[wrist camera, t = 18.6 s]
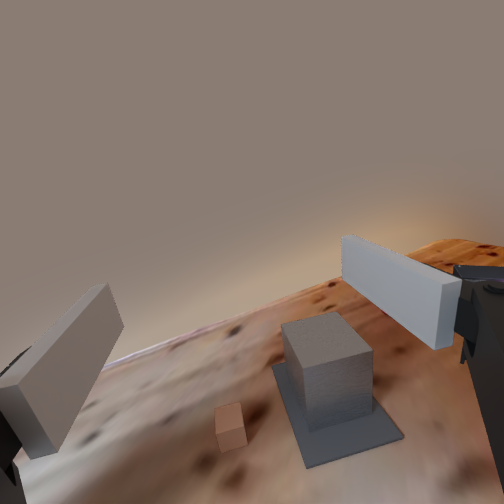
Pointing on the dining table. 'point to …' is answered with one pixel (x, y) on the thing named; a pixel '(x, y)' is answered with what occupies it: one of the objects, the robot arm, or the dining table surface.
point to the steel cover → (328, 370)
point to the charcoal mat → (335, 429)
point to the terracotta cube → (230, 427)
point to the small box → (479, 273)
